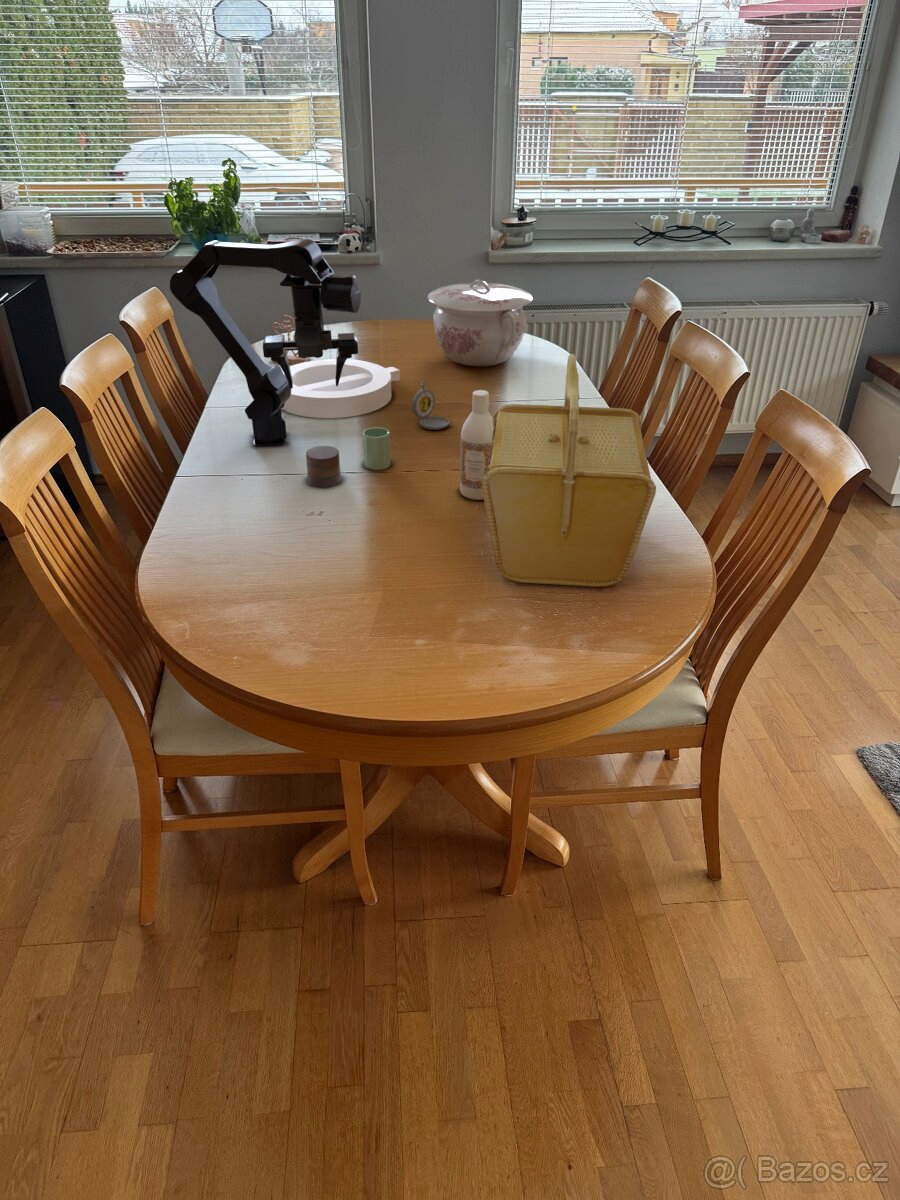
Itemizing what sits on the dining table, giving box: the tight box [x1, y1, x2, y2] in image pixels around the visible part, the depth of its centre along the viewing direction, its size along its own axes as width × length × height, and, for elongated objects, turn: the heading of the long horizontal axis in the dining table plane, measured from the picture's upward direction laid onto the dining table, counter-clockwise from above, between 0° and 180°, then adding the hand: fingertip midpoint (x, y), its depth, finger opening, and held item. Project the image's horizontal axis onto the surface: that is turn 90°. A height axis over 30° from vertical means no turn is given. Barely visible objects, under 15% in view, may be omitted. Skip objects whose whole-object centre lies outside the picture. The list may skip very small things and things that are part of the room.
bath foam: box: [459, 389, 494, 501], centre depth 164 cm, size 7×7×20 cm
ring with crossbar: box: [281, 358, 401, 419], centre depth 212 cm, size 28×28×5 cm
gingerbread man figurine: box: [272, 314, 310, 365], centre depth 232 cm, size 9×4×12 cm, turn 85°
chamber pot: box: [427, 279, 534, 368], centre depth 232 cm, size 28×28×21 cm
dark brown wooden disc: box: [305, 445, 340, 469], centre depth 171 cm, size 6×6×2 cm
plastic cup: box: [362, 427, 391, 471], centre depth 178 cm, size 5×5×7 cm
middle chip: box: [306, 461, 341, 478], centre depth 172 cm, size 6×6×2 cm
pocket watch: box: [411, 377, 450, 431], centre depth 196 cm, size 8×8×10 cm
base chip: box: [307, 471, 342, 488], centre depth 173 cm, size 6×6×2 cm
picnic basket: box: [482, 353, 657, 588], centre depth 143 cm, size 29×26×30 cm
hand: (314, 386), depth 181 cm, fingers open, 9 cm apart
